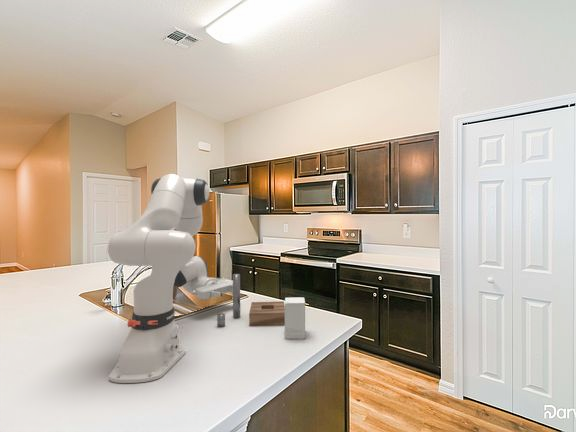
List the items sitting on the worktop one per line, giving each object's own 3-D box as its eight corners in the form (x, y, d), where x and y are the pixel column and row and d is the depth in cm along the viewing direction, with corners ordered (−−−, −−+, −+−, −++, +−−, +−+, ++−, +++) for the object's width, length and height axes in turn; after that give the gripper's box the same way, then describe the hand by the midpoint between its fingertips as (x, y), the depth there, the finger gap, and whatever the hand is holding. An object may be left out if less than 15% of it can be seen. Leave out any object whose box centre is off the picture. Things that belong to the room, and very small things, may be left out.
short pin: (224, 327, 115) (224, 315, 115) (216, 327, 114) (216, 316, 114) (225, 324, 118) (225, 313, 118) (218, 324, 117) (217, 313, 117)
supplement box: (305, 339, 104) (305, 303, 104) (284, 339, 104) (284, 303, 104) (304, 330, 111) (304, 296, 111) (285, 330, 111) (284, 296, 111)
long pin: (240, 318, 124) (239, 275, 124) (232, 318, 124) (232, 275, 123) (240, 315, 127) (240, 273, 126) (233, 316, 127) (233, 273, 126)
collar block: (285, 325, 116) (285, 312, 116) (249, 326, 116) (249, 313, 116) (283, 312, 130) (283, 301, 130) (251, 313, 130) (251, 302, 130)
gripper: (188, 285, 127) (209, 290, 119) (225, 276, 144) (246, 280, 135) (189, 300, 127) (210, 306, 119) (225, 289, 144) (246, 294, 136)
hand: (229, 292), depth 127 cm, fingers open, 8 cm apart
